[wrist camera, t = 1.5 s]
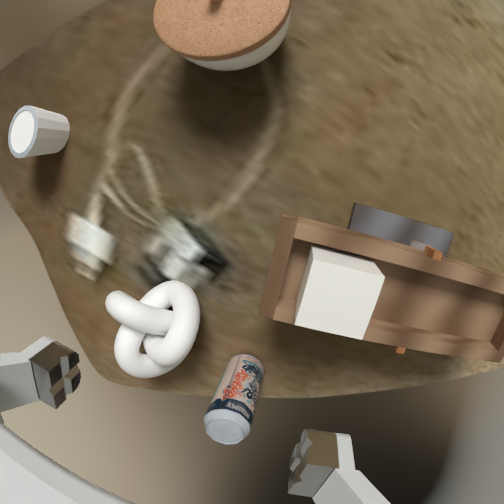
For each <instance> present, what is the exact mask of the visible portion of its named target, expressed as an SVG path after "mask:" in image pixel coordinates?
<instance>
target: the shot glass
mask: <svg viewBox="0 0 504 504" xmlns="http://www.w3.org/2000/svg"><path fill="white" fill-rule="evenodd" d="M69 133H70V128H69V122H68V120H67V118H66V117H65V116H63V115H61V114H58V113H54V112H51V111H47V110H44V109H41V108H37V107H34V106H23V107H22V108H20V109H19V110H18V111H17V113H16V114H15V116H14V117H13V120H12V122H11V124H10V128H9V134H8V143H9V148H10V151H11V153H12V154H13V155H14V156H15V157H17V158H25V157H31V156H38V155H45V154H52V153H57V152H59V151H61V150H62V149H63V147H64V146H65V145H66V143H67V141H68V138H69Z"/></svg>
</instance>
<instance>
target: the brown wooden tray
mask: <svg viewBox="0 0 504 504" xmlns="http://www.w3.org/2000/svg"><path fill="white" fill-rule="evenodd" d="M452 237H453V233H452V232H450V231H447V230H444V229H441V228H438V227H435V226H432V225H429V224H426V223H422V222H419V221H416V220H413V219H410V218H407V217H403V216H400V215H397V214H393V213H390V212H387V211H383V210H380V209H376V208H373V207H369V206H366V205H362V204H359V203H355V202H354V205H353V209H352V213H351V217H350V221H349V225H348V229H346V228H342V227H338V226H334V225H330V224H326V223H323V222H319V221H315V220H311V219H307V218H302V217H298V216H294V215H290V214H286V213H284V214H283V216H282V218H281V222H280V226H279V231H278V235H277V239H276V244H275V248H274V252H273V257H272V261H271V265H270V269H269V273H268V278H267V282H266V286H265V290H264V294H263V298H262V302H261V307H260V311H259V315H258V316H261V317H265V318H269V319H273V320H277V321H281V322H285V323H289V324H293V325H295V314H296V302H297V295H298V292H299V288H300V285H301V281H302V277H303V274H304V270H305V266H306V262H307V259H308V255H309V251H310V247H311V243H314V244H318V245H322V246H326V247H330V248H334V249H338V250H342V251H346V252H350V253H354V254H358V255H361V256H365V257H369V258H371V259H372V260H373V262H374V263H375V264H376V266H377V267H378V268H379V270H380V271H381V272H382V274H383V275H384V276H385V279H384V282H383V285H382V288H381V291H380V294H379V297H378V299H377V302H376V305H375V308H374V310H373V313H372V316H371V318H370V321H369V324H368V326H367V329H366V331H365V334H364V336H363V339H362V340H366V341H370V342H375V343H381V344H386V345H391V346H393V348H394V350H395V352H396V353H400V354H404V352H405V350H406V348H407V349H413V350H419V351H424V352H430V353H436V354H443V355H449V356H455V357H462V358H469V359H476V360H484V361H491V362H501V360H502V358H503V356H504V275H501V274H498V273H495V272H492V271H489V270H486V269H483V268H480V267H477V266H473V265H470V264H467V263H464V262H461V261H458V260H454V259H451V258H448V257H447V254H448V250H449V247H450V244H451V240H452Z"/></svg>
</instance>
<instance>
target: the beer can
mask: <svg viewBox="0 0 504 504" xmlns="http://www.w3.org/2000/svg"><path fill="white" fill-rule="evenodd" d="M263 375H264V368H263V365H262V363H261V362H260V361H259V360H258V359H257V358H255V357H253V356H250V355H246V354H241V355H236V356H234V357H232V358H231V359H230V360H229V362H228V364H227V366H226V368H225V371H224V373H223V375H222V378H221V380H220V382H219V385H218V387H217V389H216V392H215V394H214V396H213V399H212V401H211V403H210V406H209V408H208V410H207V412H206V415H205V418H204V425H205V428H206V433H207V434H208V435H209V436H210V437H211V438H212V439H213V440H214V441H217V442H220V443H222V444H226V445H227V444H237V443H239V442H240V441H241V440H243V439H244V438H245V437H247V435H248V434H249V432H250V428H251V424H252V420H253V416H254V412H255V408H256V404H257V400H258V396H259V392H260V388H261V383H262V379H263Z"/></svg>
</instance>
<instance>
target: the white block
mask: <svg viewBox="0 0 504 504" xmlns="http://www.w3.org/2000/svg"><path fill="white" fill-rule="evenodd" d="M384 279H385V276H384V275H383V274H382V272H381V271H380V270H379V268H378V267H377V266H376V264H375V263H374V262H373V260H372V259H371V258H369V257H365V256H361V255H358V254H354V253H350V252H346V251H342V250H338V249H334V248H330V247H326V246H322V245H318V244H314V243H311V247H310V251H309V255H308V259H307V262H306V266H305V270H304V274H303V277H302V281H301V285H300V288H299V292H298V295H297V302H296V314H295V325H297V326H302V327H306V328H310V329H314V330H319V331H323V332H328V333H332V334H337V335H341V336H346V337H351V338H355V339H360V340H362V339H363V336H364V334H365V331H366V329H367V326H368V324H369V321H370V318H371V316H372V313H373V310H374V308H375V305H376V302H377V299H378V297H379V294H380V291H381V288H382V285H383V282H384Z"/></svg>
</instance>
